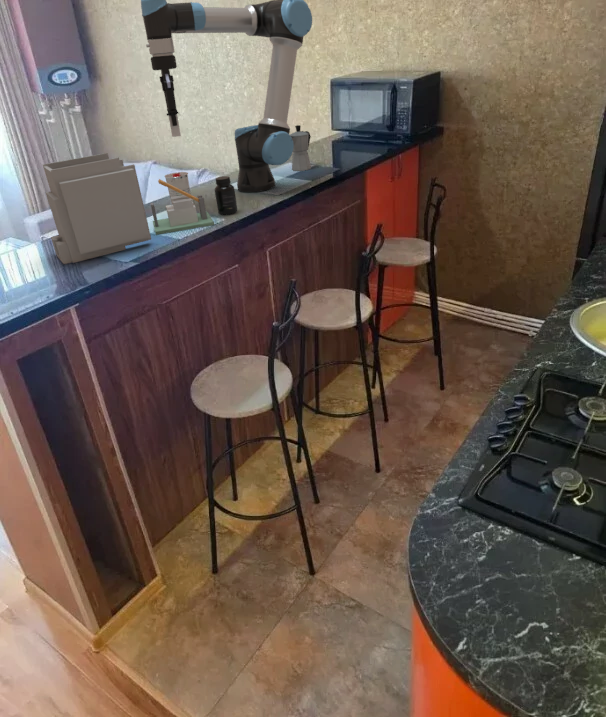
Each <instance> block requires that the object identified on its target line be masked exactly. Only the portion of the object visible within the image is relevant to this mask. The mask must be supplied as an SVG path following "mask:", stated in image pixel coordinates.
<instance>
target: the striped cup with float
mask: <svg viewBox="0 0 606 717" xmlns="http://www.w3.org/2000/svg"><path fill="white" fill-rule="evenodd" d="M164 178H165V182H166V183H168V184H170V185H172V186H174V187H176V188H178V189H180V190H182V191H184V192H186V193H188V194H190V195H192V194H191V188H190V181H189V172H186V171H178V172H177V171H176V172H171V173H167V174H165V175H164ZM167 189H168V190H167V191H168V194H169V195H168V196H169V198H170V202H171V203H172V200H171V197H177V196H184V195H183V194H181V193H179V192H177V191H175V190H172V189H170V188H168V187H167Z"/></svg>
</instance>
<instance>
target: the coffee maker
mask: <svg viewBox="0 0 606 717" xmlns="http://www.w3.org/2000/svg"><path fill="white" fill-rule="evenodd" d="M294 126H295V132H293V133H289V135H290V136H291V137H292V140H293V144H294V148H293V152H292V160H291V161H292V162H291V163H292V164H291V171H293V172H304V171H305V170H306V171H309V170H312V166H311V165H312V164H311V160H310V156H309V153H308V150H309V146H310V141H311V134H310V132H309V130H306V131H304V130H302V131H301V126H302V125H300V124H299V125H294Z"/></svg>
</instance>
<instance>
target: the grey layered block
mask: <svg viewBox="0 0 606 717" xmlns="http://www.w3.org/2000/svg"><path fill="white" fill-rule="evenodd" d="M124 164H125V163H124V160H123V159H120V158H119V157H113V158H110V156H109V153H108V152H106V153H99V154H94V155H88V156H87V155H86V156H82V157H77V158H71V159H70V158H69V159H66V160H62V161H54V162H50V163H43V164H42V167H43V171H44V174H45V177H46V181H47V183H48V187H49V190H50V191H46V192H45V195H46V198H47V202H48V204H49V208H50V211H51V214H52V218H53V221H54V225H55V227H56V231H57V234H58V235H55V236H54V235H53V236H50V239H51V242H52V244H53V245H52V246H53V248H54V251H55V254H56V256H57V258H58V259H59V260H60V261H61V263H62V264H63V265H66V264H67V265H68V264H71V263H77V262H82V261H86V260H89V259H93V258H98V257H102V256H105V255H106V256H107V255H110V254H113V253H117V252H122V251H125V250H127V248H126V247H127V246H131V245H135V244H139V243H143V242H144V243H145V242H147V241H151V240H152V237H151V236H152V235H151V231H150V228H149V222H148V218H147V214H146V211H145V210H146V209H145V205H144V201H143V195H142V193H141V187H140V183H139V178H138V174H137V170H136V165H135V164H133V163H132V164H129V165H124Z"/></svg>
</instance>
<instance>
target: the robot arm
mask: <svg viewBox="0 0 606 717" xmlns="http://www.w3.org/2000/svg"><path fill="white" fill-rule="evenodd" d="M140 7H141V16H142V20H143V24H144V30H145V34H146V40H147V43H146V45H145V46H146V48H148V50H149V55H150V56H151V57H150V63H151V68H152V70H153V71H160V73H161V75H160V76H159V81H160V83H161V89H162V91H163V94H164V99H165V104H166V112H167V113H166V116H167V117H168V121H169V127H170V131H171V137H172V138H175V137H176V138H177V137H182V136H181V129H180V122H179V118H178V114H179V111H178V109H177V104H176V97H175V86H174V81H175V80H174V76H173V75H171V72H170V70H174V69H177V67H178V66H177V59H176V55H175V54H174V53H175V47H174V41H173V35H172V34H224V33H225V34H228V33H229V34H230V33H231V34H238V33H239V34H241V33H242V34H243V33H245V34H246V35H247V36H249V37H264V38H269V41H270V43H271V45H272V50H271V51H272V53H271V58H270V67H269V75H268V79H267V80H268V81H267V86H266V87H267V88H266V89H267V90H266V97H265V103H264V112H263V118H262V119H261V120H260V121H259V122H258V124H255V125H250V126H243V127H238V128H235V130H234V141H235V147H236V148H235V149H236V155H237V161H238V162H237V163H238V168H239V169H238V175H237V182H236V186H237V188H236V189H237V191H238V192H243V193H257V192H263V191H268V190H271V189H274V188H275V187H276V180H275V178H274V175H273V173H272V169H271V168H270V166H281V165H283V164H285V163H287V162H288V161H289V160H290V158H291V157H292V156H293V148H294V144H293V140H292V137H291V136H290V134H291V131H290V130H291V128H290V126H289V124H288V116H289V109H290V102H291V95H292V89H293V82H294V81H293V80H294V76H295V68H296V60H297V53H298V50H299V49H300V48H302V46H303V42H304V37H305V36H306V35H307V34H308V33H310V31H311V28H312V25H313V15H312V14H313V13H312V11H311V8H310V7H309V5H308V3H307V2H306V1H305V0H270V1H265V2H261V3H255V4H247V5H245V6H244V7H214V6H213V7H205V6H203V5H202V4H201V3H200V2H192V1H190V2H189V1H188V2H177V3H175V2H173V3H168V2H167V0H140Z"/></svg>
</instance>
